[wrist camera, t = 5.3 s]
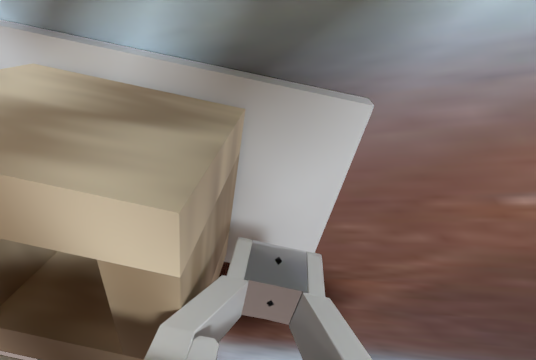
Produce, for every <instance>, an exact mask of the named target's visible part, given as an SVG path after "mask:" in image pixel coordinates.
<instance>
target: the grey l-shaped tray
mask: <svg viewBox="0 0 536 360" xmlns="http://www.w3.org/2000/svg"><path fill="white" fill-rule="evenodd" d="M27 64H38V65H43V66H47V67H52V68H57V69H61V70H66V71H70V72H75V73H80V74H84V75H89V76H94V77H98V78H103V79H108V80H112V81H117V82H122V83H126V84H131V85H136V86H140V87H145V88H150V89H154V90H159V91H164V92H168V93H173V94H178V95H182V96H187V97H192V98H196V99H201V100H205V101H210V102H215V103H219V104H224V105H229V106H233V107H238V108H243V109H245V117H244V124H243V132H242V139H241V147H240V154H239V162H238V170H237V177H236V185H235V192H234V200H233V207H232V215H231V223H230V230H229V238H228V245H227V253H226V257H225V260H224V262H228V263H230V262H231V259H232V255H233V252H234V249H235V245H236V242H237V239H238V237H242V238H247V239H251V240H256V241H260V242H264V243H268V244H273V245H277V246H283V247H288V248H293V249H297V250H302V251H307V252H312V253H315V250H316V248H317V245H318V243H319V240H320V238H321V236H322V233H323V231H324V228H325V226H326V223H327V221H328V218H329V216H330V213H331V211H332V209H333V206H334V204H335V201H336V199H337V196H338V194H339V191H340V189H341V186H342V184H343V181H344V179H345V177H346V174H347V172H348V169H349V167H350V164H351V162H352V159H353V157H354V154H355V152H356V150H357V147H358V145H359V142H360V140H361V137H362V135H363V132H364V130H365V127H366V125H367V123H368V120H369V118H370V115H371V113H372V110H373V108H374V105H373V104H372V102H371V101H370V100H369V98H364V97H360V96H355V95H350V94H346V93H341V92H336V91H332V90H327V89H322V88H318V87H313V86H308V85H304V84H299V83H294V82H290V81H285V80H280V79H276V78H271V77H266V76H262V75H257V74H252V73H248V72H243V71H238V70H234V69H229V68H224V67H220V66H215V65H210V64H206V63H201V62H196V61H192V60H187V59H182V58H178V57H173V56H168V55H164V54H159V53H154V52H150V51H145V50H140V49H136V48H131V47H126V46H122V45H117V44H112V43H108V42H103V41H98V40H94V39H89V38H84V37H80V36H75V35H70V34H66V33H61V32H56V31H52V30H47V29H42V28H38V27H33V26H28V25H24V24H19V23H14V22H10V21H5V20H0V69H4V68H10V67H16V66H21V65H27ZM252 243H253V241H252ZM251 247H252V246H251Z"/></svg>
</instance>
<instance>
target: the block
mask: <svg viewBox="0 0 536 360" xmlns="http://www.w3.org/2000/svg"><path fill="white" fill-rule="evenodd" d="M244 117H245V109H243V108H238V107H233V106H229V105H224V104H219V103H215V102H210V101H205V100H201V99H196V98H192V97H187V96H182V95H178V94H173V93H168V92H164V91H159V90H154V89H150V88H145V87H140V86H136V85H131V84H126V83H122V82H117V81H112V80H108V79H103V78H98V77H94V76H89V75H84V74H80V73H75V72H70V71H66V70H61V69H57V68H52V67H47V66H43V65H38V64H27V65H21V66H16V67H10V68H4V69H0V351H4V352H9V353H13V354H18V355H22V356H27V357H31V358H36V359H41V360H144V358H145V356H146V354H147V352H148V350H149V348H150V346H151V343H152V341H153V339H154V337H155V335H156V333H157V331H158V329H159V326H160V325H161V324H162V323H163V322H165V321H166V320H167V319H168V318H170V317H171V316H172V315H173V314H175V313H176V312H177V311H178V310H179V309H181V308H182V307H183V306H184V305H186V304H187V303H188V302H189V301H191V300H192V299H193V298H194V297H196V296H197V295H198V294H199V293H200V292H202V291H203V290H204V289H205V288H207V287H208V286H209V285H210V284H212V283H213V282H214V281H215V280H217V279H218V278H219V275H220V272H221V269H222V266H223V263H224V260H225V257H226V253H227V245H228V238H229V230H230V223H231V215H232V207H233V200H234V192H235V185H236V177H237V170H238V162H239V154H240V147H241V139H242V132H243V124H244Z"/></svg>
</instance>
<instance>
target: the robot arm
mask: <svg viewBox="0 0 536 360" xmlns="http://www.w3.org/2000/svg"><path fill="white" fill-rule="evenodd" d="M252 241H253V243H252ZM251 246H252V247H251ZM241 315H245V316H251V317H256V318H262V319H267V320H271V321H275V322H279V323H283V324H287V325H289V328H290V330H291V333H292V335H293V337H294V340H295V342H296V344H297V347H298V349H299V351H300V354H301V356H302V358H303V360H372V359H371V357H370V356H369V354H368V353H367V351H366V350H365V349H364V347H363V346H362V344H361V343H360V341H359V340H358V338H357V337H356V336H355V334H354V333H353V331H352V330H351V328H350V327H349V325H348V324H347V322H346V321H345V320H344V318H343V317H342V315H341V314H340V312H339V311H338V309H337V308H336V306H335V305H334V304H333V302H332V301H331V299H330V298H327V297H325V287H324V276H323V264H322V256H321V254H317V253H312V252H307V251H302V250H297V249H293V248H288V247H283V246H277V245H273V244H268V243H264V242H260V241H256V240H251V239H247V238H242V237H238V239H237V242H236V245H235V249H234V252H233V255H232V259H231V262H230V266H229V269H228V272H227V276H224V275H221V276H220V277H219V278H218V279H217V280H215V281H214V282H213V283H212V284H210V285H209V286H208V287H207V288H205V289H204V290H203V291H202V292H200V293H199V294H198V295H197V296H196V297H194V298H193V299H192V300H191V301H189V302H188V303H187V304H186V305H184V306H183V307H182V308H181V309H179V310H178V311H177V312H176V313H175V314H173V315H172V316H171V317H170V318H168V319H167V320H166V321H165V322H163V323H162V324H161V325H160V326H159V329H158V331H157V333H156V335H155V337H154V339H153V341H152V343H151V346H150V348H149V350H148V352H147V354H146V356H145V358H144V360H217V355H218V348H219V344H218V342H219V341H220V340H221V339H222V338H223V337H224V336H225V334H226V333H227V332H228V331H229V330H230V329H231V327H232V326H233V325H234V324H235V323H236V322H237V320H238V319H239V318H240V317H241ZM0 360H21V359H17V358H12V357H8V356H3V355H0Z"/></svg>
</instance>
